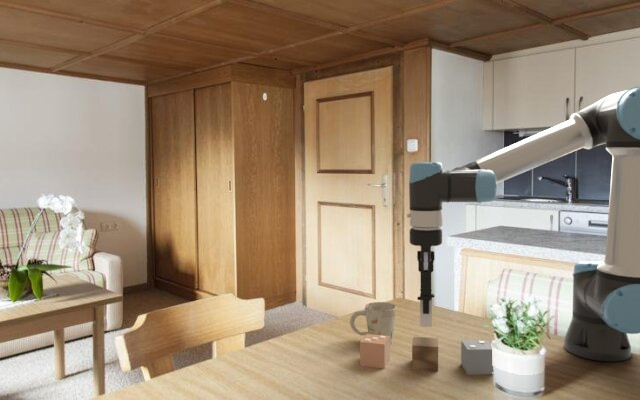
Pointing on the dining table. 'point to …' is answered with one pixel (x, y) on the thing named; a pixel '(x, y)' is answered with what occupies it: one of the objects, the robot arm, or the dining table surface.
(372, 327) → the mug
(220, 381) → the dining table surface
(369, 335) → the terracotta block
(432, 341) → the walnut block
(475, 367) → the slate block
